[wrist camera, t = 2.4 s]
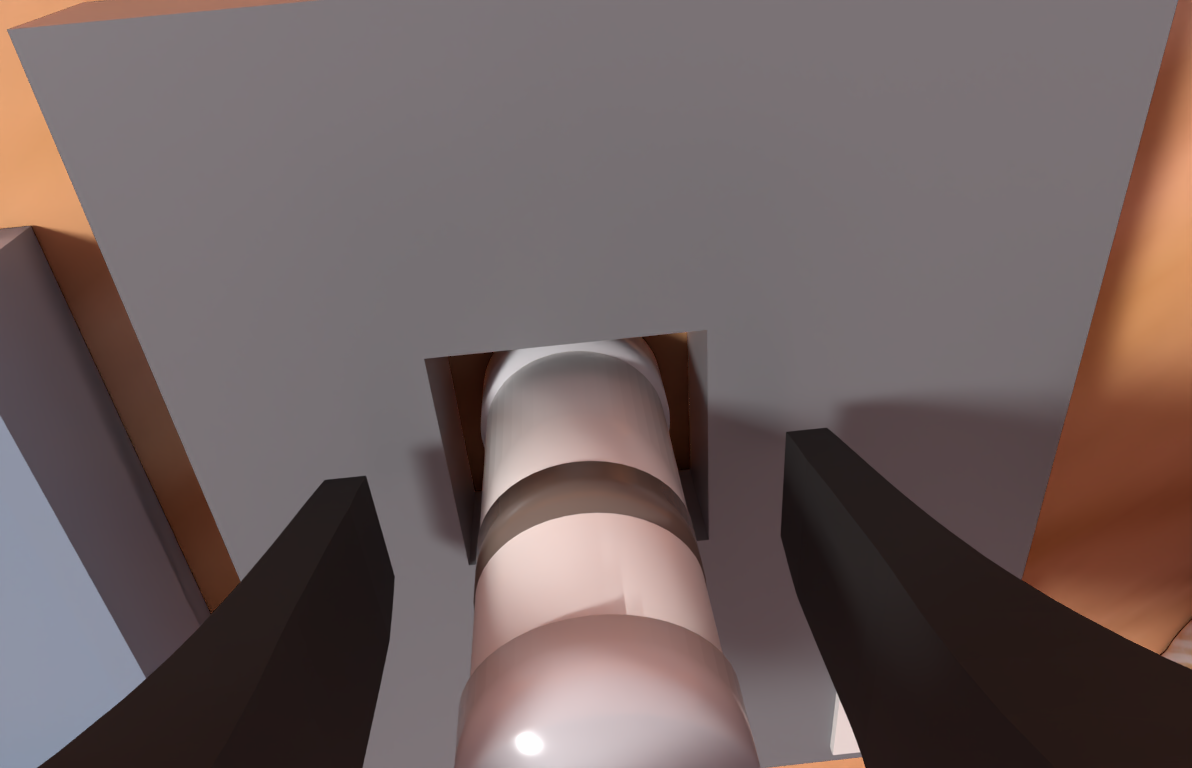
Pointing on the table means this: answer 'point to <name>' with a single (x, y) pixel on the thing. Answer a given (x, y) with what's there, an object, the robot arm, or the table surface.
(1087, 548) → the table surface
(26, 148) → the table surface
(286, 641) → the robot arm
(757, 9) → the light bulb socket board
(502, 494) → the white light bulb
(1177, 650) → the decorative jar
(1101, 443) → the table surface
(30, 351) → the tray
